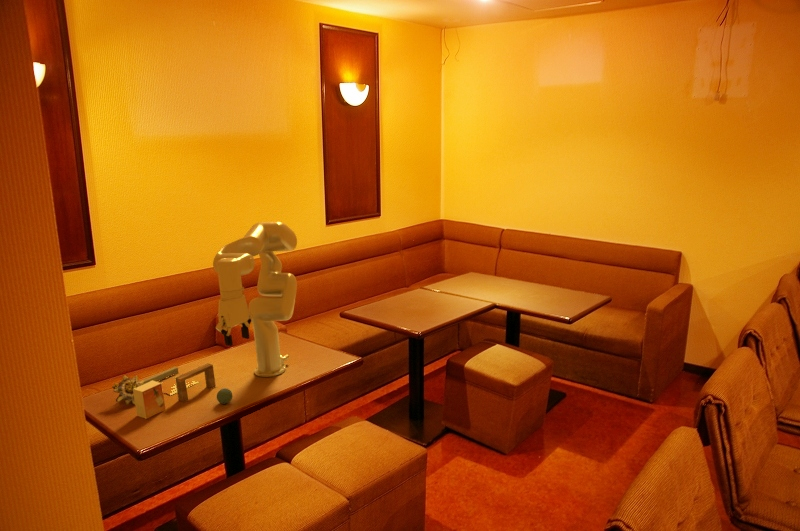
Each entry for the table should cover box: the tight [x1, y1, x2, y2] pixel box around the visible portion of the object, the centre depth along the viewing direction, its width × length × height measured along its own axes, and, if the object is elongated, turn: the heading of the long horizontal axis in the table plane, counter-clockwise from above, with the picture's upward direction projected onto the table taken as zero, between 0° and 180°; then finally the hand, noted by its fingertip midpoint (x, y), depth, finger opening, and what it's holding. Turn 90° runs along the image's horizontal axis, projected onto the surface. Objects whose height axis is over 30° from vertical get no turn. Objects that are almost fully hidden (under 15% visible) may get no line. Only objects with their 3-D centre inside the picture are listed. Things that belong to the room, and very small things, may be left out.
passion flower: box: [111, 375, 144, 406], centre depth 210 cm, size 11×11×12 cm
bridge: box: [174, 362, 216, 403], centre depth 213 cm, size 3×14×9 cm, turn 146°
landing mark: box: [169, 380, 200, 397], centre depth 221 cm, size 13×13×1 cm
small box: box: [133, 380, 166, 420], centre depth 199 cm, size 8×6×10 cm
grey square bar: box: [141, 366, 179, 384], centre depth 226 cm, size 16×2×2 cm, turn 146°
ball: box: [216, 388, 233, 405], centre depth 204 cm, size 6×6×6 cm
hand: (237, 341), depth 199 cm, fingers open, 6 cm apart
